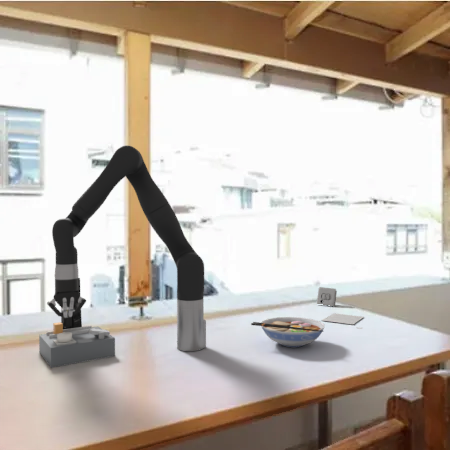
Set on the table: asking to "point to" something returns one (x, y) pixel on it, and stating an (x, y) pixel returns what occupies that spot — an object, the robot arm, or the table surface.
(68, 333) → the push button
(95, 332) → the rocker switch
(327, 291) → the electrical switch
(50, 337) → the console
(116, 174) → the robot arm
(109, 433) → the table surface
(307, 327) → the ramen bowl
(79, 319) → the portable radio
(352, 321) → the paper stack
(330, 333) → the table surface
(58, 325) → the slider knob
